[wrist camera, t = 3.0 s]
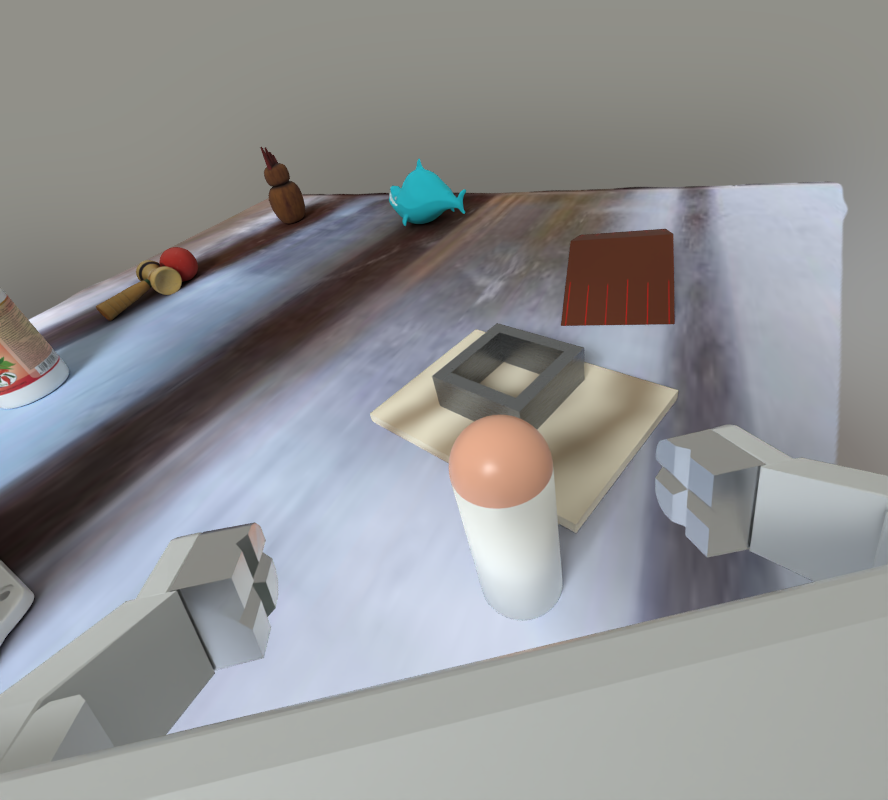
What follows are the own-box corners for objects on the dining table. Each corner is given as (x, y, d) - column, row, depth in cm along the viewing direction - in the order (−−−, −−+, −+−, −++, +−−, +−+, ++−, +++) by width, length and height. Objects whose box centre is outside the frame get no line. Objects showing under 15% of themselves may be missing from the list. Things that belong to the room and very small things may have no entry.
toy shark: (415, 209, 93) (401, 149, 86) (489, 216, 82) (480, 148, 76) (379, 229, 88) (361, 167, 82) (453, 240, 77) (439, 169, 71)
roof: (580, 237, 70) (579, 204, 67) (665, 231, 66) (668, 195, 63) (560, 330, 53) (558, 290, 50) (674, 329, 49) (679, 286, 46)
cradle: (439, 405, 45) (431, 376, 42) (501, 352, 49) (497, 323, 47) (523, 443, 39) (519, 411, 37) (584, 379, 43) (584, 347, 41)
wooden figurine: (294, 227, 100) (262, 148, 91) (274, 227, 103) (242, 151, 93) (314, 214, 104) (287, 138, 95) (295, 214, 107) (266, 140, 97)
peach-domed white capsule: (465, 588, 31) (417, 442, 23) (512, 532, 34) (485, 382, 26) (531, 638, 28) (504, 489, 20) (578, 572, 31) (572, 415, 22)
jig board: (372, 421, 46) (369, 413, 46) (477, 337, 54) (476, 329, 54) (576, 533, 33) (575, 524, 32) (676, 399, 41) (678, 390, 40)
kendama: (126, 332, 79) (212, 268, 87) (94, 300, 75) (186, 236, 83) (114, 330, 84) (196, 270, 92) (83, 300, 81) (171, 240, 89)
